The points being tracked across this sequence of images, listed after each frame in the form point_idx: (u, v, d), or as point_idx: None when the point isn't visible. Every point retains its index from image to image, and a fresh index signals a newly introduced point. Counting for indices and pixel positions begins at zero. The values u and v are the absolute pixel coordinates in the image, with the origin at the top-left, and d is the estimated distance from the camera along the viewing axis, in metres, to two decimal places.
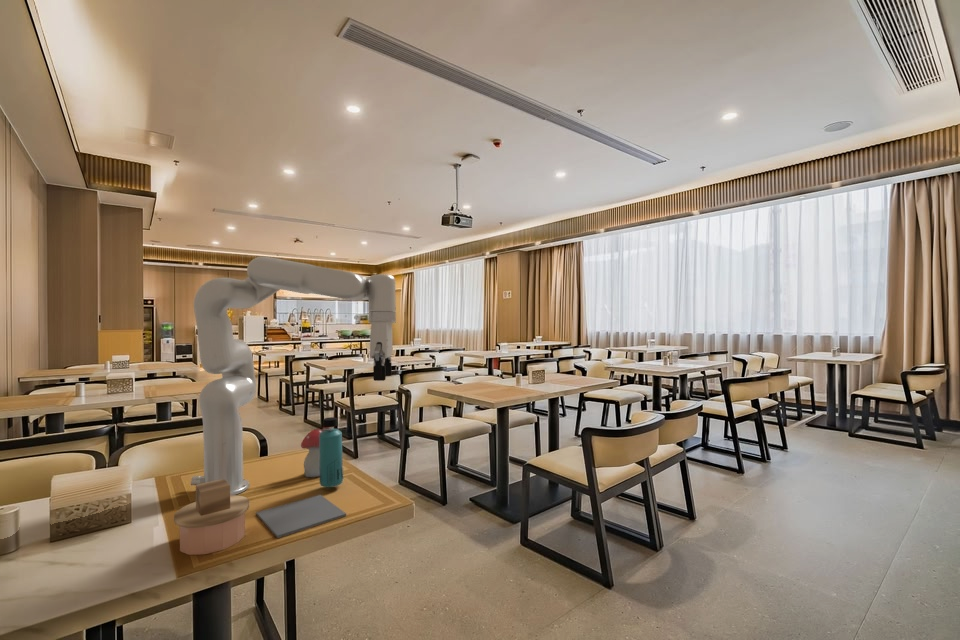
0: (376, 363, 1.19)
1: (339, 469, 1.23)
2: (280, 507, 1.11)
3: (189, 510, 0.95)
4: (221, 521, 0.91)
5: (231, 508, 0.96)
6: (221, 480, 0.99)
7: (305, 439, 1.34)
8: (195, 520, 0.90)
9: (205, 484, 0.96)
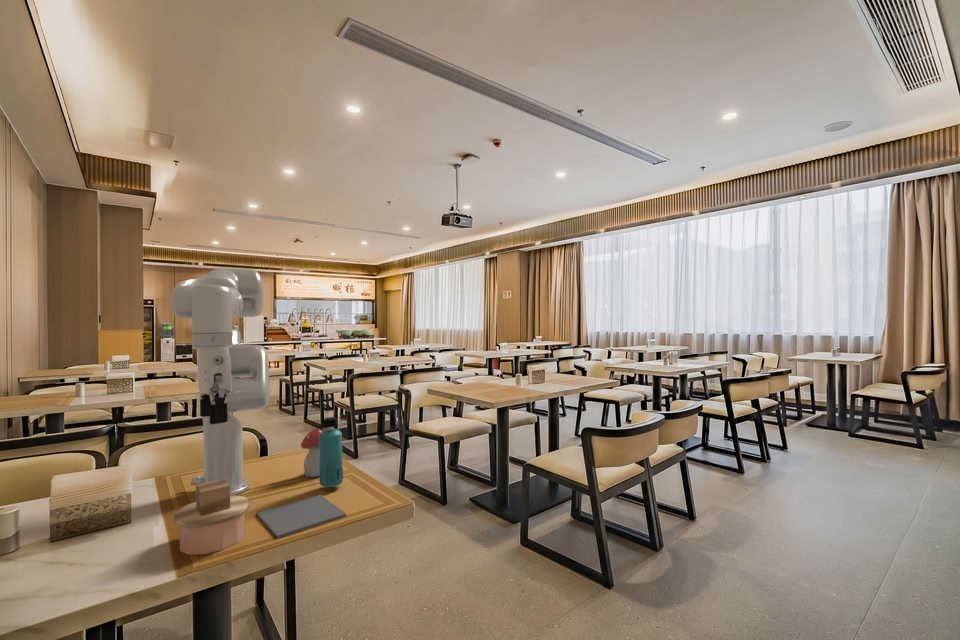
0: None
1: (339, 469, 1.23)
2: (280, 507, 1.11)
3: (189, 510, 0.95)
4: (221, 521, 0.91)
5: (231, 508, 0.96)
6: (221, 480, 0.99)
7: (305, 439, 1.34)
8: (195, 520, 0.90)
9: (205, 484, 0.96)
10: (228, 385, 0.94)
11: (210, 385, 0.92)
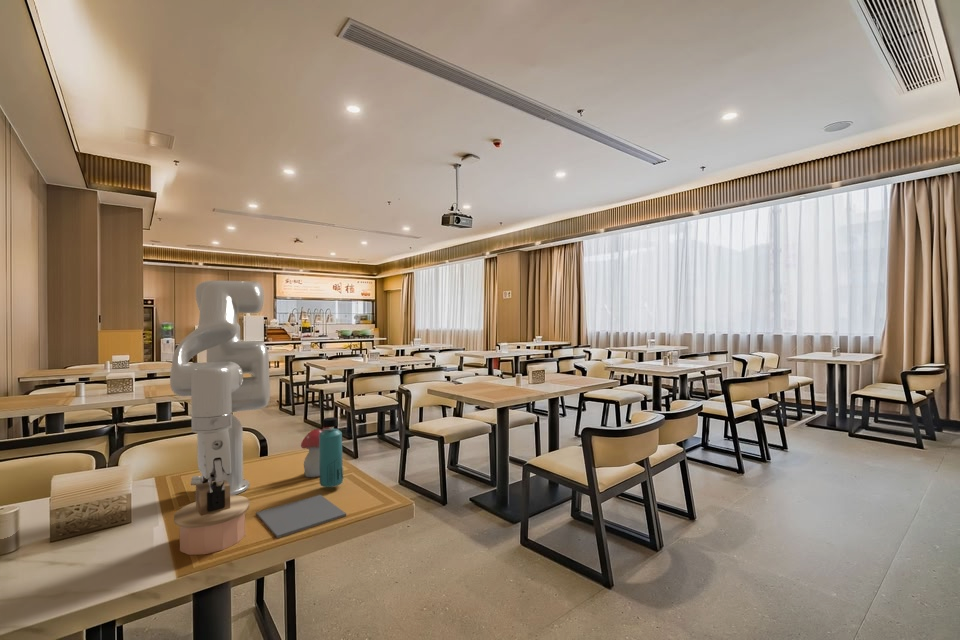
0: None
1: (339, 469, 1.23)
2: (280, 507, 1.11)
3: (189, 510, 0.95)
4: (221, 521, 0.91)
5: (231, 508, 0.96)
6: None
7: (305, 439, 1.34)
8: (195, 520, 0.90)
9: (205, 484, 0.96)
10: (227, 468, 0.94)
11: (209, 475, 0.92)
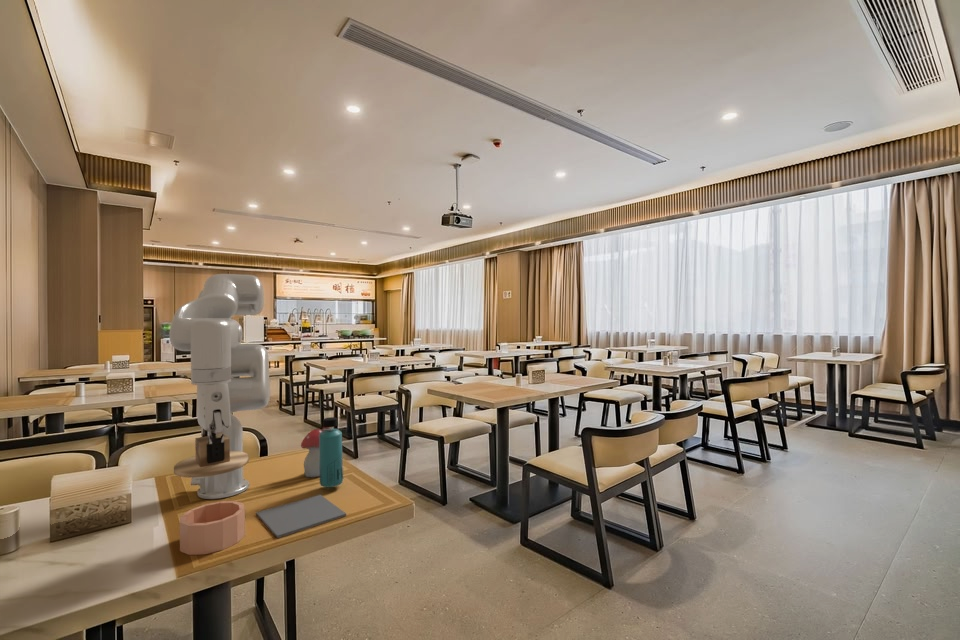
0: None
1: (339, 469, 1.23)
2: (280, 507, 1.11)
3: (189, 462, 0.95)
4: (221, 472, 0.91)
5: (231, 461, 0.96)
6: None
7: (305, 439, 1.34)
8: (195, 470, 0.90)
9: (205, 437, 0.97)
10: (227, 421, 0.94)
11: (208, 426, 0.92)
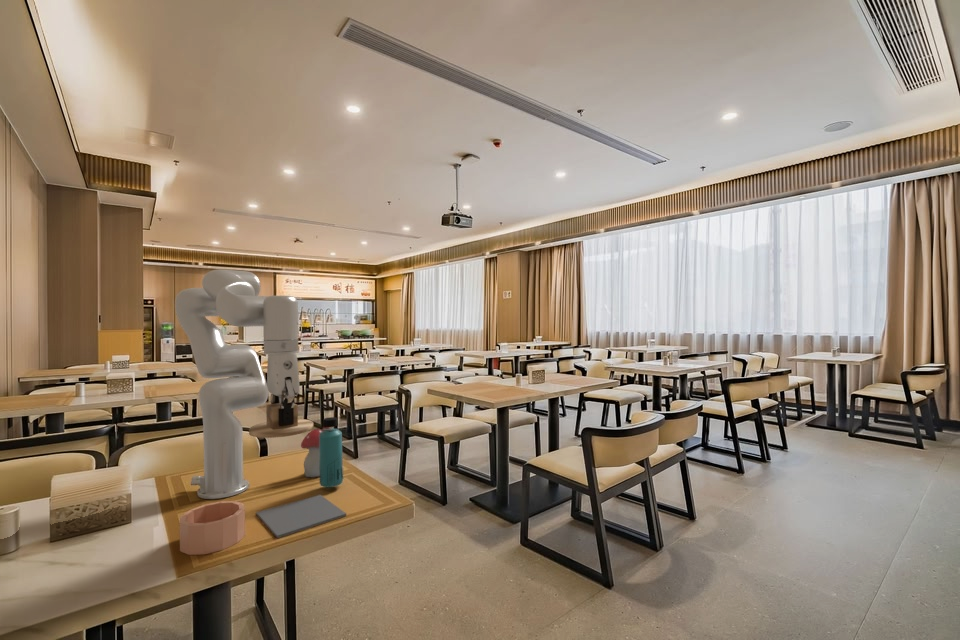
0: None
1: (339, 469, 1.23)
2: (280, 507, 1.11)
3: (261, 427, 1.04)
4: (292, 433, 1.00)
5: (298, 425, 1.05)
6: None
7: (305, 439, 1.34)
8: (269, 432, 0.99)
9: (275, 404, 1.06)
10: (296, 388, 1.03)
11: (281, 392, 1.01)
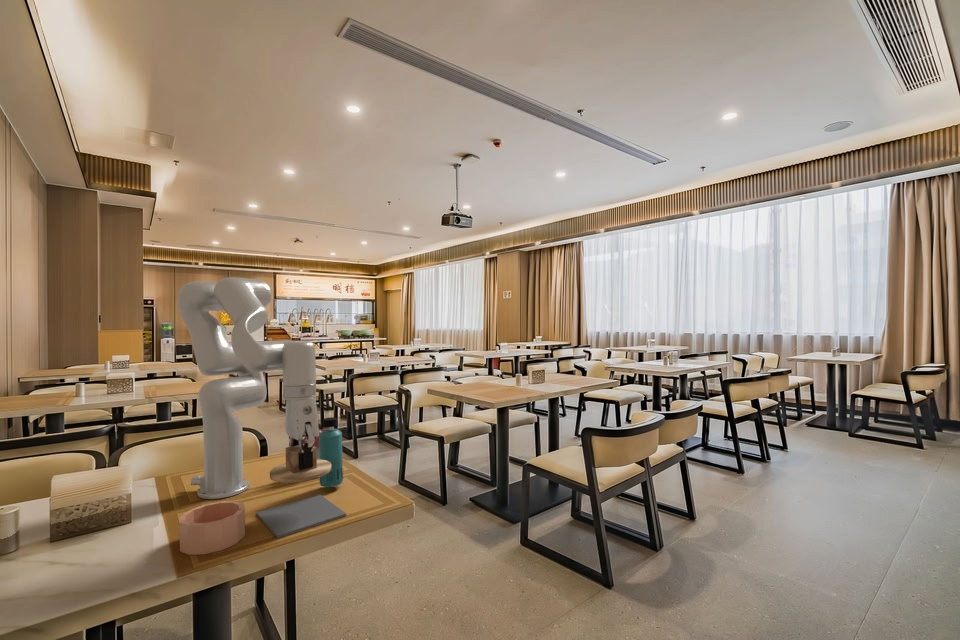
0: None
1: (339, 469, 1.23)
2: (280, 507, 1.11)
3: (281, 470, 1.06)
4: (313, 477, 1.03)
5: (318, 468, 1.07)
6: None
7: None
8: (291, 476, 1.02)
9: (293, 447, 1.08)
10: (316, 432, 1.05)
11: None
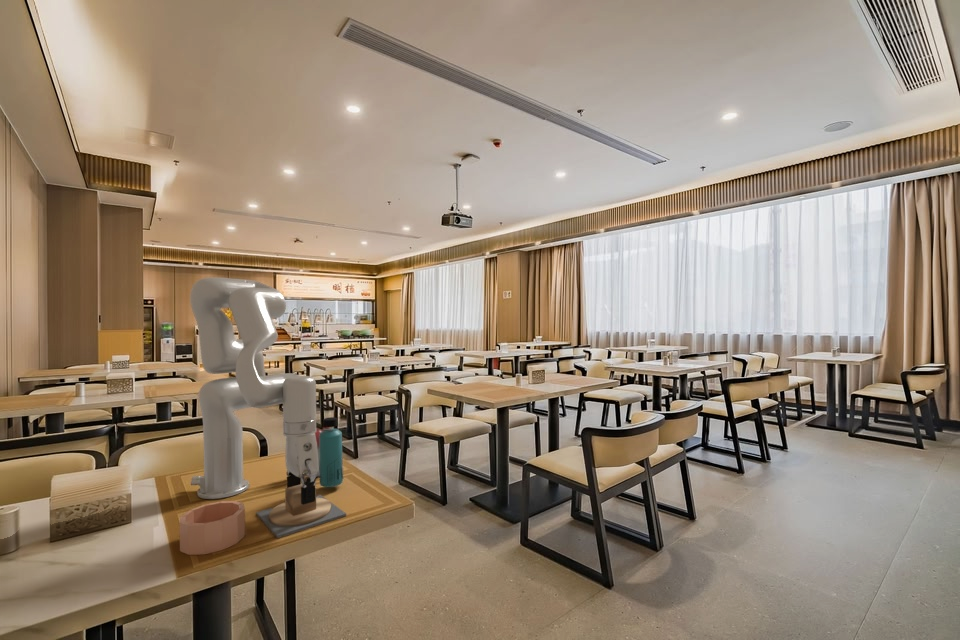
0: None
1: (339, 469, 1.23)
2: None
3: (280, 511, 1.07)
4: (312, 520, 1.03)
5: (317, 509, 1.07)
6: None
7: None
8: (290, 519, 1.02)
9: (293, 487, 1.08)
10: (315, 468, 1.05)
11: (301, 470, 1.03)
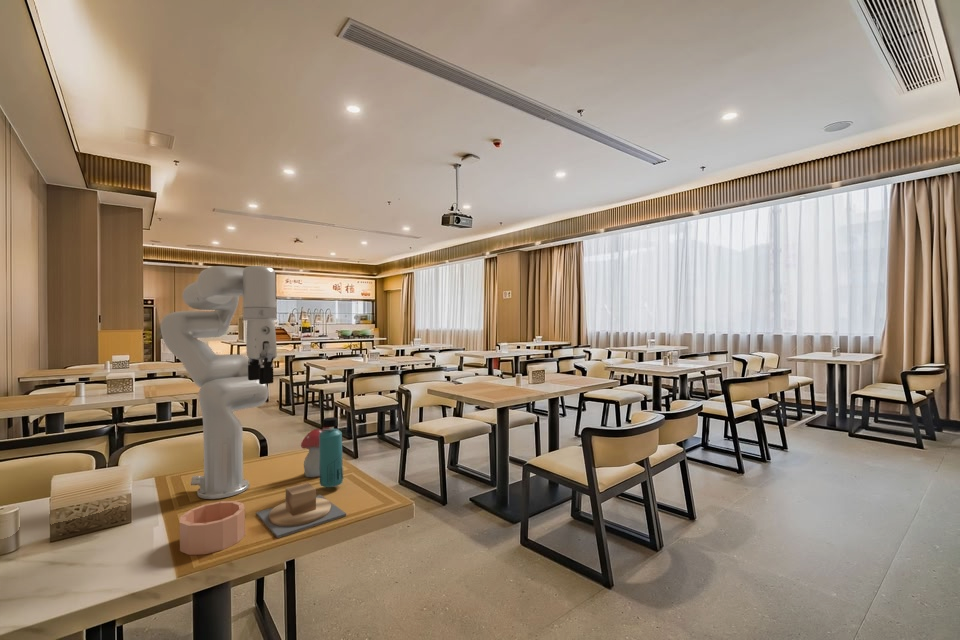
0: None
1: (339, 469, 1.23)
2: None
3: (280, 510, 1.07)
4: (311, 521, 1.03)
5: (317, 509, 1.07)
6: (306, 484, 1.11)
7: (305, 439, 1.34)
8: (289, 519, 1.02)
9: (293, 487, 1.08)
10: (274, 352, 1.10)
11: (259, 351, 1.08)
